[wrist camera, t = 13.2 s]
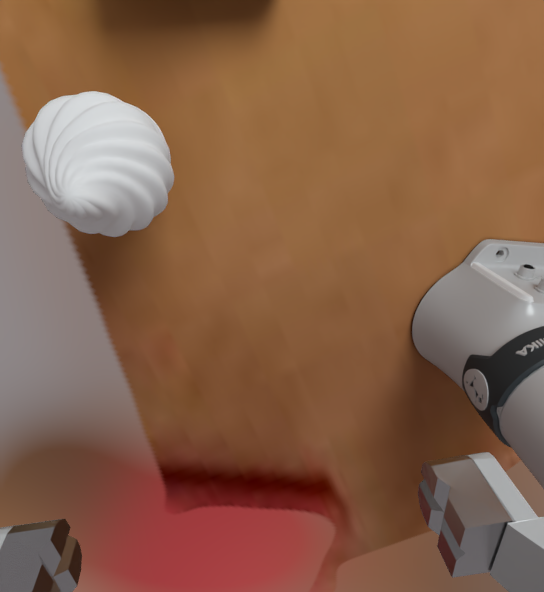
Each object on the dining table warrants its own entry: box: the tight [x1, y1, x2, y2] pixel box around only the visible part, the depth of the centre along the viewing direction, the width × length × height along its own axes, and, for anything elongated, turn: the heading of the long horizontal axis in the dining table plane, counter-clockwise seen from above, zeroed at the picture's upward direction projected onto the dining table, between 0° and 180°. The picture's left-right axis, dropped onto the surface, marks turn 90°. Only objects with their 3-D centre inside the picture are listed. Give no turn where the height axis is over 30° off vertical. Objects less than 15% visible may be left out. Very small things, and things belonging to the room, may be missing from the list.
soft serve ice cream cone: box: [22, 91, 174, 237], centre depth 27 cm, size 8×8×16 cm
